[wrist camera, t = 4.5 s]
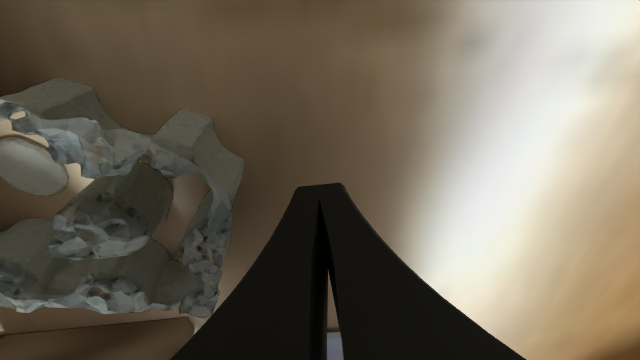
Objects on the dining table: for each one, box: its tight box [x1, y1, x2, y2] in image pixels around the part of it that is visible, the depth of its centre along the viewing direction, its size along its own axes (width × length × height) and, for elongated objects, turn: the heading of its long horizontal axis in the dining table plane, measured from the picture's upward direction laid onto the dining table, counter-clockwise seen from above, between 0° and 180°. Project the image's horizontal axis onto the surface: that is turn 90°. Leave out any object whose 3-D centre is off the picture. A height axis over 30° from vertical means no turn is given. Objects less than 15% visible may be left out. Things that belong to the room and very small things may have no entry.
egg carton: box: [0, 78, 245, 318], centre depth 9 cm, size 11×8×4 cm
